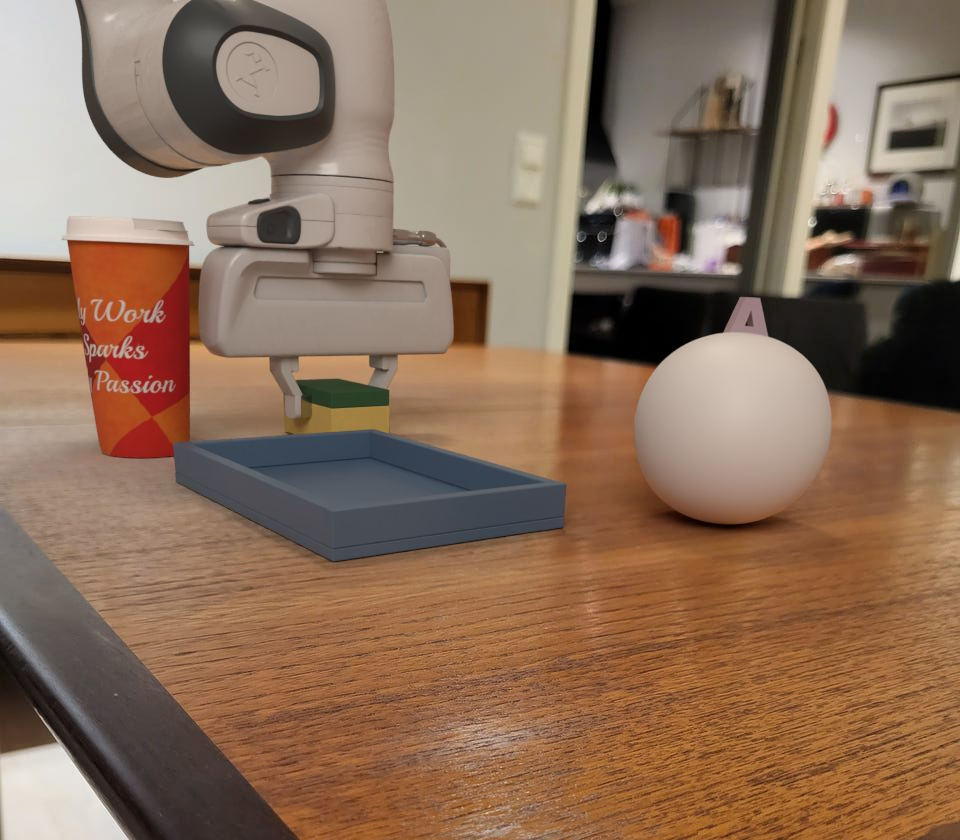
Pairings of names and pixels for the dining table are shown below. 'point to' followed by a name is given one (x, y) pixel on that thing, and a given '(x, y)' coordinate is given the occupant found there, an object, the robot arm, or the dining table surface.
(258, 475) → the tray
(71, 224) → the coffee cup
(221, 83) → the robot arm
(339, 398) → the sponge
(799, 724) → the dining table surface
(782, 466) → the ornament
